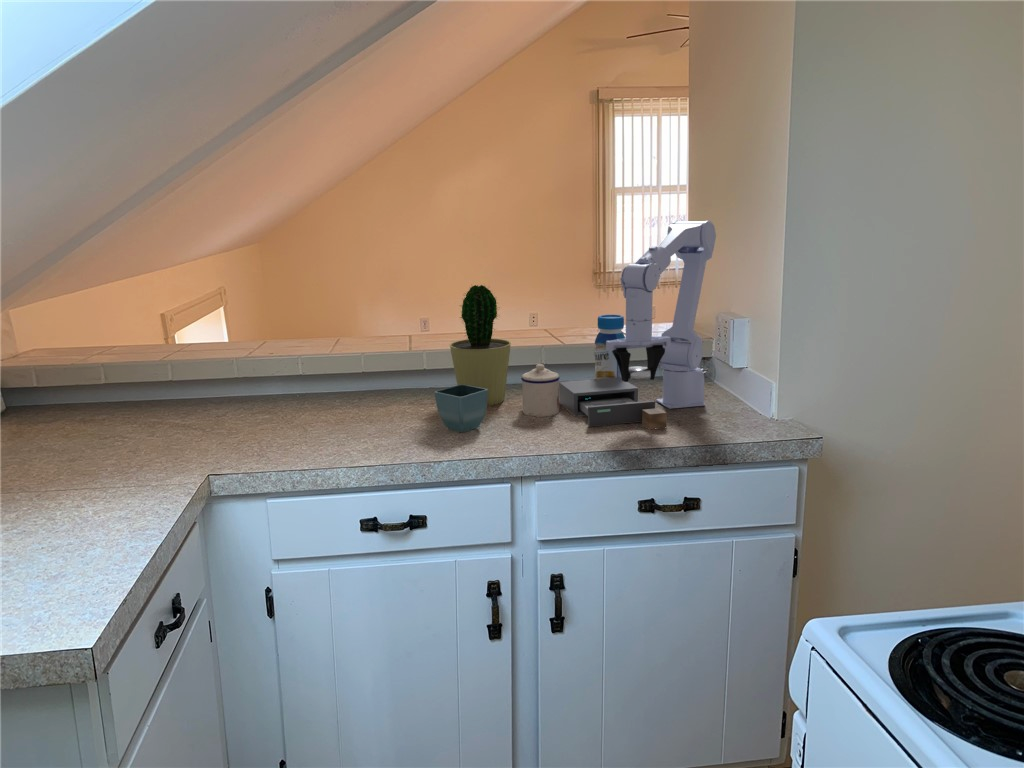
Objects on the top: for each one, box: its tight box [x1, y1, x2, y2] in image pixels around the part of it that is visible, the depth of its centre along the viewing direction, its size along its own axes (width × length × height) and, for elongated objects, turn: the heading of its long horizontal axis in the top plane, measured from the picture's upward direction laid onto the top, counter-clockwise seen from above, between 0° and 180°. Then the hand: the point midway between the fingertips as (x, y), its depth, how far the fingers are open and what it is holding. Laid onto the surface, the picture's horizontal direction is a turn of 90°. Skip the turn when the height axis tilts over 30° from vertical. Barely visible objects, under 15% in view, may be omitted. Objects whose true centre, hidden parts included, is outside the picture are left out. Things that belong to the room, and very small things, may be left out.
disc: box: [629, 366, 651, 381], centre depth 165 cm, size 6×6×2 cm
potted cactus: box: [449, 284, 512, 407], centre depth 186 cm, size 15×15×30 cm
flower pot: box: [433, 384, 488, 434], centre depth 165 cm, size 9×9×9 cm
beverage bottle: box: [593, 314, 626, 379], centre depth 193 cm, size 8×8×20 cm
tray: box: [579, 398, 656, 427], centre depth 171 cm, size 16×12×4 cm
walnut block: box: [641, 407, 668, 430], centre depth 164 cm, size 4×4×4 cm
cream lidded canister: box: [520, 363, 561, 418], centre depth 178 cm, size 12×9×12 cm
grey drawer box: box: [559, 377, 639, 417], centre depth 181 cm, size 16×13×5 cm
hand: (638, 379), depth 165 cm, fingers closed on disc, 6 cm apart
